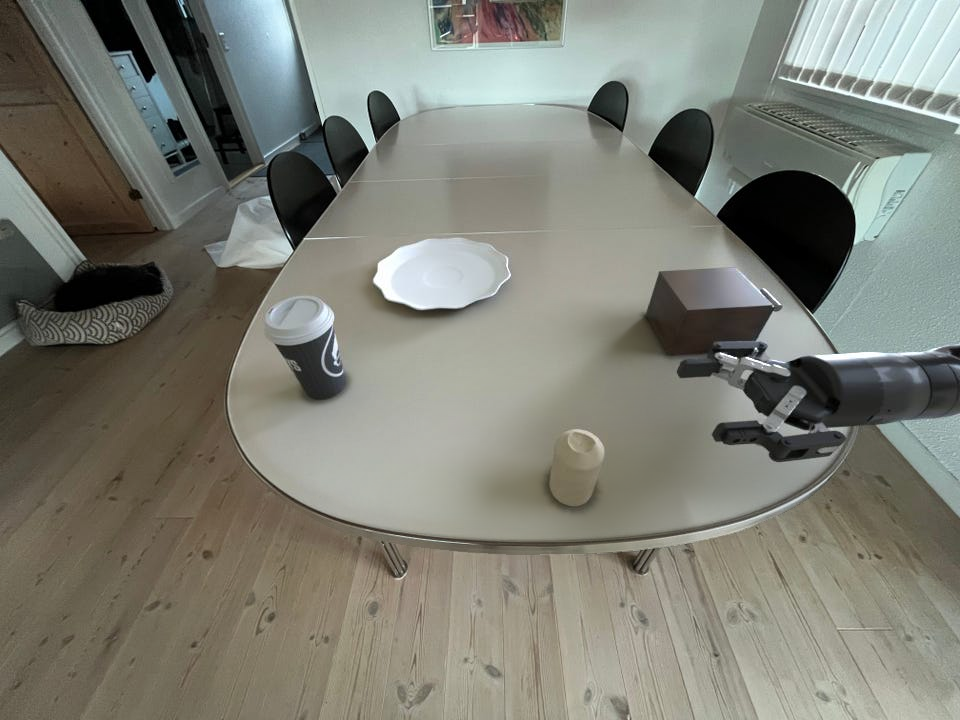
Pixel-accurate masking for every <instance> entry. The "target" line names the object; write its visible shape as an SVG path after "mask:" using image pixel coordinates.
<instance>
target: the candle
mask: <svg viewBox="0 0 960 720" xmlns="http://www.w3.org/2000/svg"><path fill="white" fill-rule="evenodd" d="M554 445H555V446H554V451H553V452H554V453H553V457H552V463H551V468H550V469H551V470H550V475H549V489H550V492H551V494H552V496H553V497H554V498H555V499H556V500H557V501H558V502H559V503H561V504H563V505H564V506H568V507H579V506H583V505H584V504H586V503H587V502H588V501H589V500H590V498H591V497H592V495H593V492H594V490H595V486H596V483H597V480H598V477H599V474H600V471H601V468H602V464H603V461H604V458H605V447H604V444H603V443H602V441H601V440H600V439H599V438H598V437H597V436H596V435H595V434H594V433H592V432H591V431H587V430H585V429H580V428H574V429H568V430H565V431H564V432H562V433H561V434H560V435H559V436H558V437H557V439H556V442H555V444H554Z"/></svg>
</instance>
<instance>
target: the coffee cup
mask: <svg viewBox="0 0 960 720" xmlns="http://www.w3.org/2000/svg"><path fill="white" fill-rule="evenodd" d="M334 321H335V314H334V312H333V310H332V309H331V308H330V306H329V305H327V304H326V303H325V302H324V301H323V300H322V299H320V298H318V297H316V296H313V295H297V296H292V297H288V298H285V299H282V300H281V301H279V302H277V303H275V304H273V306H271V307H270V308H269V309H268V310H267V312H266V314H265V317H264V322H263V323H264V325H263V332H264V336H265V338H266V340H268V341H269V342H271V343H272V344H274V345H275V347H276V348H277V350H278V352H279V353H280V356H282V358H283V359H284V361H285V362H286V364H287V366H288V368H289V369H290V370H291V372H292V374H294V377H295V378H296V380H297V381H298V384H299V385H300V386H301V388H302V389H303V391H304V393H305V394H306V395H307V397H309V398H310V399H312V400H317V401H322V400H323V401H324V400H329V399H331V398H333V397H336V396H338V395H339V394H340V393H341V392H342V391H343V390H344V388H345V387H346V385H347V379H346V375H345V370H344V366H343V361H342V358H341V353H340V350H339V345H338V341H337V340H338V339H337V335H336V332H335V328H334Z"/></svg>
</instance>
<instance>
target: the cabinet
mask: <svg viewBox="0 0 960 720" xmlns="http://www.w3.org/2000/svg"><path fill="white" fill-rule="evenodd" d="M741 273H742V272H741V271H739V270H738V268H737V267H735V266H729V267H728V266H727V267H713V268H712V267H711V268H693V269H675V270H660V271H658V274H657V277H656V279H655V280H656V281H655V284H654V287H653V289H652V292H651V297H650V300H649V302H648V305H647V310H646V311H645V312H646V313H645V316H646V318H647V320H648V321H649V323H650V325H651V326H652V328H653V330H654V331H655V333H656V335H657V337H658V339H659V340H660V342H661V344H662V345H663V347H664V348H665V350H666V352H667V354H668V355H669V356H681V355H696V354H708V353H709V351H710V349H711V347H712V345H713V343H714V342H735V341H753V339H754V338H755V336H756V334H757V332H758V331H759V329H760V327H761V325H762V324H763V322H764V320H765V318H766V316H767V315H768V313H769V311H770V309H771V308H772V306H773V305H772V304H771V303H770V302H769V301H768V300H767V299H766V298H765V297H764V296H763V295H762V294H761V293H760V292H759V291H758V290H759V289H758V288H757V287H756V286H755V285H754V284H753V283H752V282H751V281H750V280H749V279H748V278H747V277H746V276H745V275H744V274H743V273H742V274H743V275H744V276H745V277H746V278H747V279H748V280H749V281H750V282H751V283H752V284H753V285H754V286H755V287H756V288H757V289H758V290H757V289H756V288H755V287H754V286H753V285H752V284H751V283H750V282H749V281H748V280H747V279H746V278H745V277H744V276H743V275H742V274H741Z"/></svg>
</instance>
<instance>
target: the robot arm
mask: <svg viewBox="0 0 960 720" xmlns="http://www.w3.org/2000/svg"><path fill="white" fill-rule="evenodd" d="M768 345H769V344H768V343H766V342H765V341H761V340H756V341H735V342H714V343H713V345H712V347H711V349H710V351H709V353H707V355H706V356H695V357H686V358H684V359H683V360H682V361H680V362H679V365H678V367H677V369H676V374H677V376H678V378H679V379H690V378H691V379H694V378H708V377H711V376H713V377H716V378H719V379H721V380H724V381H726V382H727V383H728V386H731V387H734V388H736V389H738V390H740V391H743V393H744V395H745V396H746V397H747V398H748V399H749V400H750V401H752V404H753V407H754V409H755V410H756V411H757V413H758V414H762V415H764V416H765V417H767V418H766V419H765V420H764V421H763V422H762V423H760V422H759V421H758V419H757V420H739V421H723V422H720V423H717V425H716V426H715V427H714V430H712V433H711V436H712V438H713V440H714V442H715V443H722V444H723V445H727V446H740V445H741V446H743V445H756V446H758V447H762V448H764V449H765V450H766V451H767V452H768V457H769V459H770V460H771V461H773V462H775V463H785V462H786V463H787V462H794V461H803V460H811V459H819V458H828V457H830V456H831V455H833V454H834V452H836V451H837V450H838V449H839V448H840V447H841V446H842V445H843V444H844V443H845V442H846V441H847V437H846V435H845V434H844V433H842V432H841V431H839V430H830V429H831V428H832V429H833V428H834V429H835V428H847V427H849V428H850V427H863V426H877V425H879V426H880V425H887V424H893V423H897V422H902V421H917V420H918V421H919V420H934V419H942V418H948V417H953V416H956V415H960V343H956V344H947V345H943V346H942V345H941V346H939V347H934V348H931V349H927V350H925V351H906V352H905V351H904V352H890V353H887V352H886V353H885V352H874V351H869V352H868V351H866V352H851V353H850V352H848V353H831V354H815V355H813V354H812V355H804V356H800V357H798V358H795V359H792V360H789V361H779V360H775V359H771V358H770V357H769V356H768V354H767V353H766V350H767V349H768V347H769V346H768ZM724 366H726V367H730V368H733V370H728V369H726V368H723V367H724ZM745 371H751V373H750V374H749V375H748V377H747V378H746V379H744V378H742V375H743V373H744V372H745ZM783 424H786V425H787V426H791V427H794V428H796V429H799V430H802V431H808V433H802V434H801V433H800V434H793V435H784V436H783V435H782V434H781V433H780V432H779V431H778V430H779V429H780V428H781V426H783Z"/></svg>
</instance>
